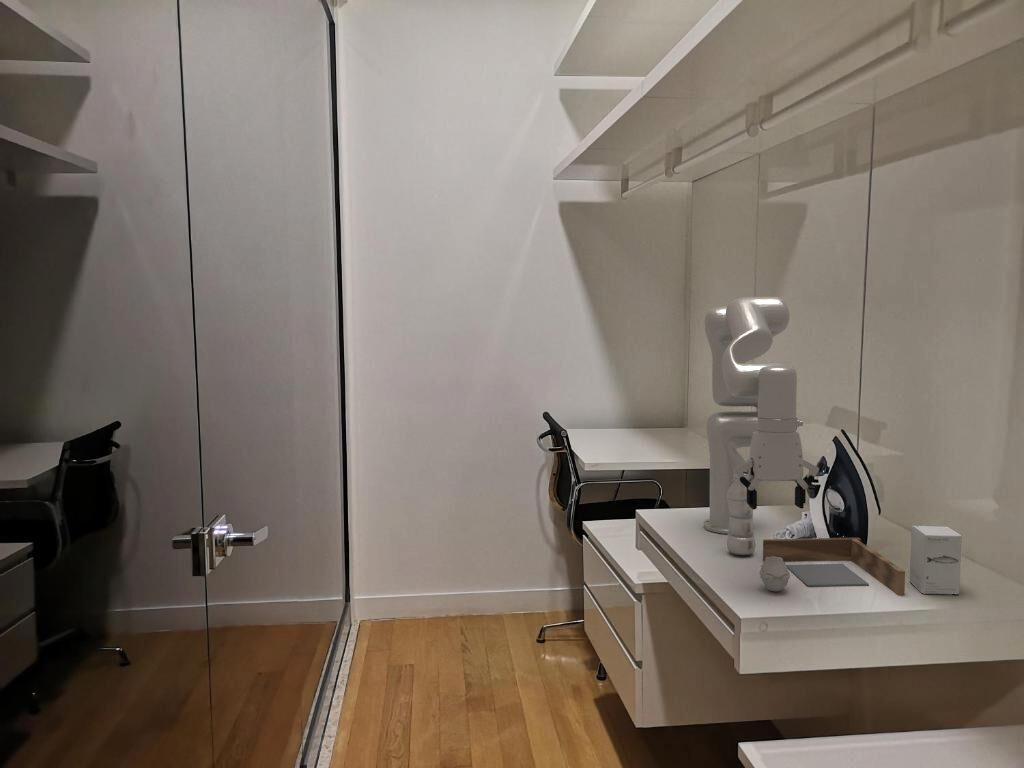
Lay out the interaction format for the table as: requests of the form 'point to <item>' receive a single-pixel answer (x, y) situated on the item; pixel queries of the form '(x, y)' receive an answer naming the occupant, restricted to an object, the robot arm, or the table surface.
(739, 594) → the table surface
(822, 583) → the slate mat
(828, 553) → the corner walls
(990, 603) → the table surface
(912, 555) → the supplement box
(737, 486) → the plastic bottle
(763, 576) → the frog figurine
